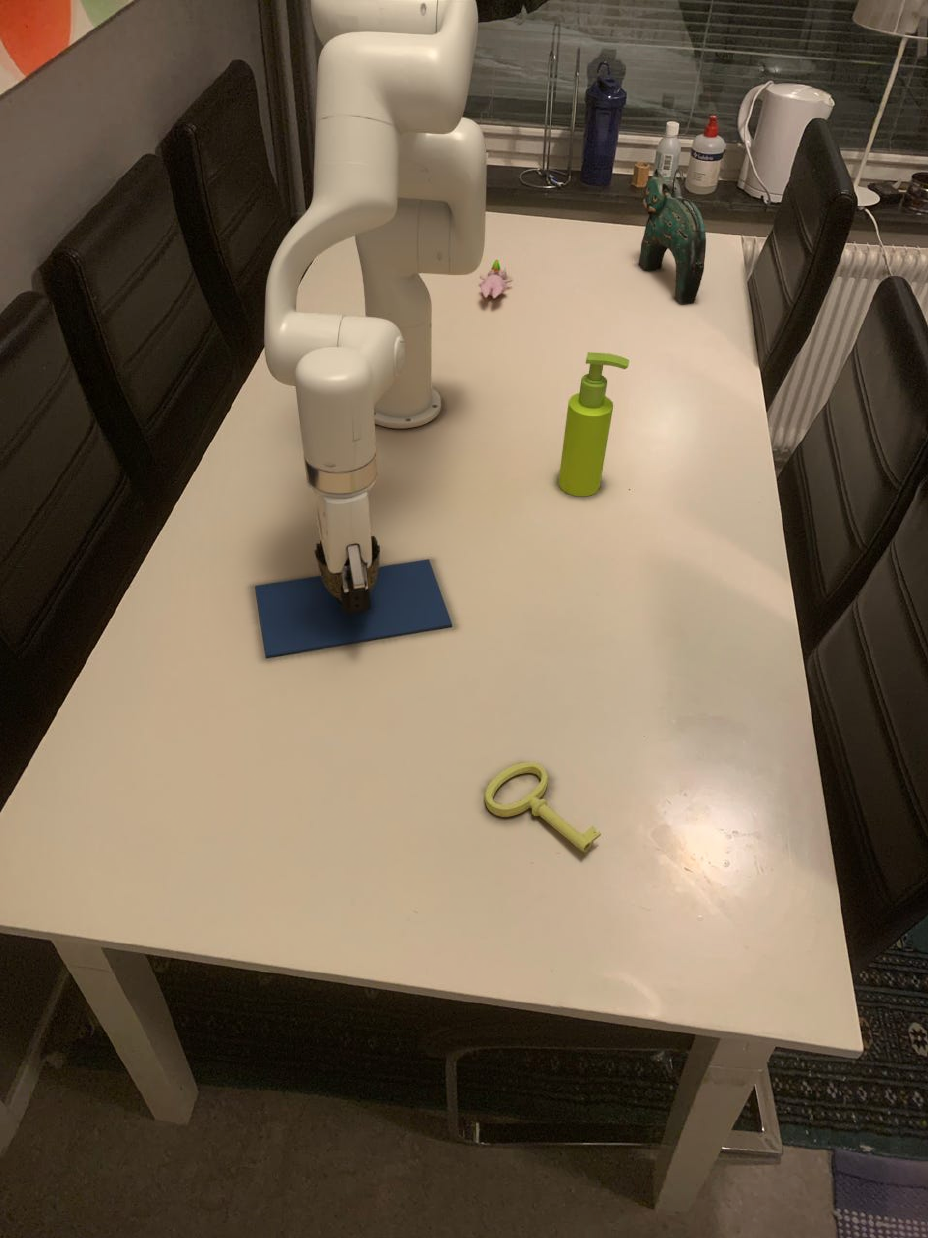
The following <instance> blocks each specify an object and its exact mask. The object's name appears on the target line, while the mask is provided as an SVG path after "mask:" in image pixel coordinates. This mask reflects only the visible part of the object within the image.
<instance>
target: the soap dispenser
mask: <svg viewBox="0 0 928 1238" xmlns="http://www.w3.org/2000/svg"><path fill="white" fill-rule="evenodd" d="M585 364H586V365H589V370H588V373H586V374H583V376H582V377H581V379H580V385H579V392H578V393H577V392H576V393H575V394H572V396H571V397H569V399H568V402H567V411H566V419H565V426H564V436H563V444H562V450H561V459H560V465H559V466H560V467H559V475H558V486H559V488H560V489H561V490H562V491H563V492H564V493H565V494H568V495H571V496H575V497H588V496H592V495H595V494H596V493H597V492H598V491H599V490H600V487H601V482H602V476H603V471H604V465H605V458H606V451H607V446H608V439H609V436H610V435H609V434H610V427H611V422H612V416H613V411H614V410H613V409H614V403H613V401H612V399H610V398H609V397H608V396H607V395H606V394H607V393H606V392H607V387H608V378H606V377H605V376H604V375H603V370H604V366H610V367H616V368H618V369H622V370H626V369H628V368H629V365H630V359H628V358H626V357H623V356H621V355H617V354H613V353H605V352H592V351H591V352H590V351H589V352H587V353H586V358H585Z"/></svg>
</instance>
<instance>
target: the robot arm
mask: <svg viewBox="0 0 928 1238" xmlns="http://www.w3.org/2000/svg"><path fill="white" fill-rule="evenodd" d="M477 5H478V4H477V1H476V0H310V12H311V18H312V23H313V26H314V30H315V33H316V35H317V37H318V40H319V41H320V43H321V45H322V46H323V47H322V49H321V51H320V54H319V57H318V63H317V77H316V105H315V109H316V110H315V132H314V133H315V134H314V157H313V158H314V160H313V191H312V199H311V203H310V205H309V207H308V209H307V210H306V211H305V213H304V214H302V216H301V217H300V218H299V219H298V220H297V222H295V224H294V225H293V226H292V227H291V228H290V230H289V231H288V232H287V234H286V235H285V236H284V238H283V240H282V241H281V243H280V244H279V247H278V249H277V250H276V253H275V255H274V257H273V259H272V261H271V265H270V268H269V271H268V274H267V278H266V279H267V280H266V284H265V296H264V297H265V298H264V325H263V326H264V329H263V337H264V338H263V348H264V357H265V358H264V359H265V363H266V366H267V369H268V371H269V373H270V375H271V376H272V377H273V378H274V379H275V380H276V381H278V382H279V383H281V384H283V385H287V386H290V387H295V393H296V402H297V411H298V419H299V427H300V437H301V445H302V454H303V463H304V473H305V481H306V484H307V486H308V488H309V489H311V491H313V492H314V493H315V504H316V505H315V506H316V521H317V528H318V532H319V533H318V534H319V538H320V539H321V543H322V547H323V551H324V555H325V559H326V563H327V567H328V570H329V571H330V572H332V573H333V574H334V573H340V572H341V577H342V584H343V586H341V587H340V589H341V600H342V610H343V613H344V614H351V613H357V612H363V611H368V610H370V592H369V583H368V581H367V573H366V567H367V568H369V567H370V565H371V564H372V543H371V536H372V528H371V512H370V501H369V499H370V498H369V491H370V490H371V489H372V488H373V487H374V486H375V484H376V483H377V480H378V464H377V463H378V462H377V444H376V443H377V442H376V425H377V426H381V427H385V428H388V429H389V428H390V429H413V428H416V427H421V426H423V425H426V424H429V422H432V421H433V420H434V419H436V418H437V417H438V416H439V414H440V413H441V410H442V397H441V396H440V393H438V391H437V390H436V389H434V388H433V387H432V347H433V346H432V345H433V344H432V343H433V342H432V338H433V337H432V335H433V334H432V331H433V329H432V328H433V327H432V325H433V316H432V315H433V307H432V306H433V305H432V304H433V303H432V298H431V293H430V291H429V289H428V287H427V285H426V282H425V281H424V279H423V278H422V277H421V275H420V274H429V275H445V276H468V275H471V274H473V273H475V271H476V270H478V268H479V267H480V265H481V263H482V260H483V257H484V252H485V246H486V245H485V244H486V216H487V215H486V214H487V212H486V211H487V178H488V177H487V171H488V164H487V163H488V162H487V161H488V159H487V158H488V157H487V146H486V140H485V136H484V132H483V130H482V128H481V127H480V126H479V124H478V123H477V122H476V121H474V120H472V119H471V118H468V117H464V112H465V109H466V105H467V100H468V97H469V89H470V84H471V77H472V71H473V65H474V60H475V55H476V49H477V43H478V35H479V13H478V6H477ZM353 237H354V240H355V245H356V250H357V255H358V260H359V264H360V270H361V276H362V284H363V296H364V313H365V315H364V316H361V315H360V316H359V315H346V314H337V313H335V314H334V313H324V312H323V313H322V312H321V313H320V312H308V311H297V300H298V292H299V287H300V284H301V281H302V278H303V276H304V273H305V272H306V271H307V268H308V267H309V266H310V265H311V263H312V262H313V261H314V260H315V259H317V257H318V256H320V255H321V254H322V253H323V252H325V251H326V250H328V249H329V248H331V247H333V246H335V245H337V244H338V243H341V242H343V241H346V240H347V239H351V238H353ZM320 539H319V540H320ZM347 559H348V560H349V563H346V564H345V562H346V560H347ZM346 571H351V581H347V573H346Z"/></svg>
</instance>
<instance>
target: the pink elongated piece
mask: <svg viewBox="0 0 928 1238" xmlns="http://www.w3.org/2000/svg"><path fill="white" fill-rule="evenodd" d="M507 277H508V274H507V270H506V268H503V269H502V268H501V266H500V263H499V260H498V259H496V260H494V262H493V264H492V266H491V268H490V270H489V271H488V273H487V277H484V276H483V275H479V279H480V280H483V281H481V283H480V285H479V287H480V291H481V293H482V295H483V297H484V298H486V299H487V298H488V297H489V296H491V297H492V299H496V298H497V297H498V296H500V295H502V294H503V293H505V292H507V290H508V289H509V286H508V284H507V283H512V282H513V280H514V279H513V278H512V277H511V278H509V279H507Z"/></svg>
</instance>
